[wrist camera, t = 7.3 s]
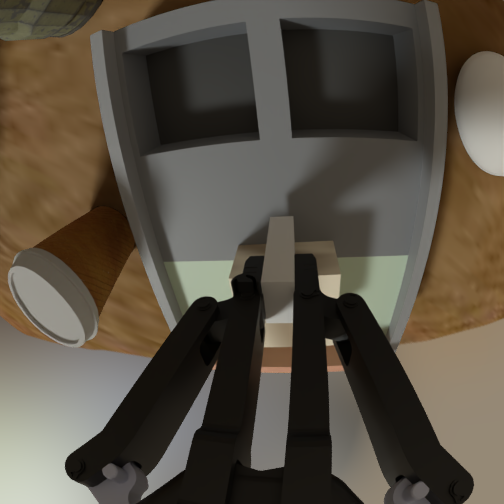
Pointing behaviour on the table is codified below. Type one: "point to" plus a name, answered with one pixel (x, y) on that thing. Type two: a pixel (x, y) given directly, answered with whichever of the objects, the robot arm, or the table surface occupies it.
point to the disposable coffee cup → (72, 275)
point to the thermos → (43, 18)
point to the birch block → (326, 273)
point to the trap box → (279, 142)
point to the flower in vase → (482, 110)
